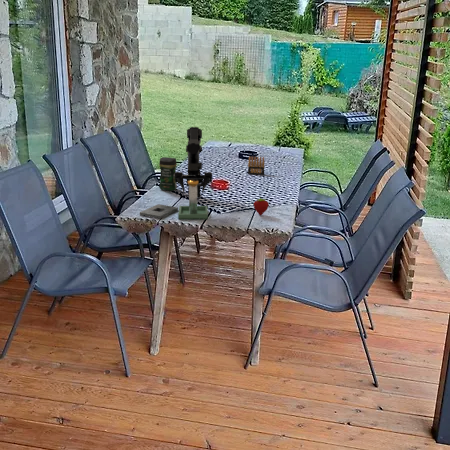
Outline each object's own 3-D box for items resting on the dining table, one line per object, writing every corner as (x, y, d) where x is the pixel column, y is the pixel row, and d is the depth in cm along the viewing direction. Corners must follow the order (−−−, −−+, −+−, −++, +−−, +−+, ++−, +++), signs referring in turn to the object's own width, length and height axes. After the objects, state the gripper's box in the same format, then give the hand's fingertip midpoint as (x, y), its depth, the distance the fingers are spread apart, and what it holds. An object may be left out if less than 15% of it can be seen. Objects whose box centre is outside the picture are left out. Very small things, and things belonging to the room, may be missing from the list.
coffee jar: (158, 190, 302) (157, 158, 296) (163, 187, 310) (162, 155, 304) (173, 191, 300) (173, 159, 294) (178, 188, 307) (178, 156, 301)
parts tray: (179, 210, 266) (179, 205, 265) (207, 210, 267) (207, 206, 266) (178, 219, 253) (178, 214, 252) (207, 219, 254) (207, 214, 253)
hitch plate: (158, 206, 272) (158, 204, 271) (178, 210, 267) (178, 207, 266) (139, 215, 259) (139, 212, 258) (160, 219, 253) (159, 216, 253)
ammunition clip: (247, 174, 342) (248, 156, 339) (247, 173, 344) (248, 155, 340) (264, 175, 341) (264, 156, 337) (264, 174, 343) (265, 156, 339)
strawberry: (268, 217, 258) (269, 197, 255) (253, 217, 258) (254, 197, 255) (267, 213, 264) (268, 194, 261) (252, 213, 264) (253, 193, 260)
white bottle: (199, 212, 262) (199, 180, 256) (197, 215, 257) (196, 182, 252) (189, 211, 263) (189, 179, 258) (186, 214, 258) (186, 182, 253)
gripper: (174, 156, 260) (173, 184, 253) (212, 156, 260) (212, 184, 254) (175, 168, 270) (174, 195, 263) (211, 168, 270) (212, 195, 264)
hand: (193, 192), depth 261 cm, fingers open, 9 cm apart
